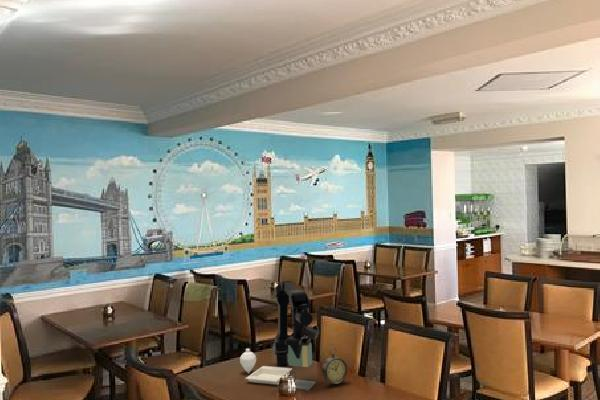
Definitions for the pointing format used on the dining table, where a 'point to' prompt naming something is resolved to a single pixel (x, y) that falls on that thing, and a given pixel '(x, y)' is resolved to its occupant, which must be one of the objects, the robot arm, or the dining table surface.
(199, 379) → the dining table surface
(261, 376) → the white rectangular tray
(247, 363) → the spinning top
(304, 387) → the mat
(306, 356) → the tea tin
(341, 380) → the alarm clock
